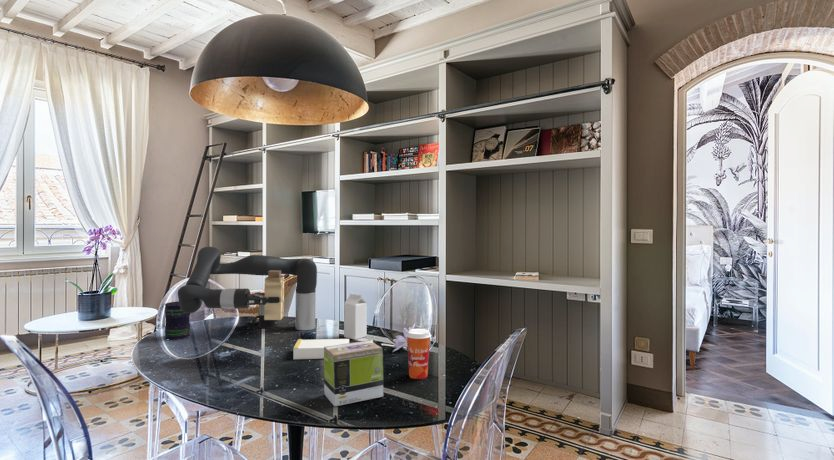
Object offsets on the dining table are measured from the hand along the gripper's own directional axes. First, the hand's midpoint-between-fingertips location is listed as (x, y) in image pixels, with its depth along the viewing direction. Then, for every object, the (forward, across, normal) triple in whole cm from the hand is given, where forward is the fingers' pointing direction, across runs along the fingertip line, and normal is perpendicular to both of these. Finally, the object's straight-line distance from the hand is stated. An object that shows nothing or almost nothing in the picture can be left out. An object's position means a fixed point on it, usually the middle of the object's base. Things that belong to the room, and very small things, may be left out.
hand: (281, 298), depth 168 cm
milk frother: (-18, +50, +22) cm, 57 cm away
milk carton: (+28, +24, +22) cm, 43 cm away
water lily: (+48, +4, +22) cm, 52 cm away
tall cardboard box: (-2, 0, +8) cm, 8 cm away
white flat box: (+16, 0, +22) cm, 27 cm away
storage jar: (-49, +30, +22) cm, 62 cm away
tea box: (+29, -43, +22) cm, 56 cm away
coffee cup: (+50, -28, +22) cm, 61 cm away
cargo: (-2, 0, -6) cm, 7 cm away
